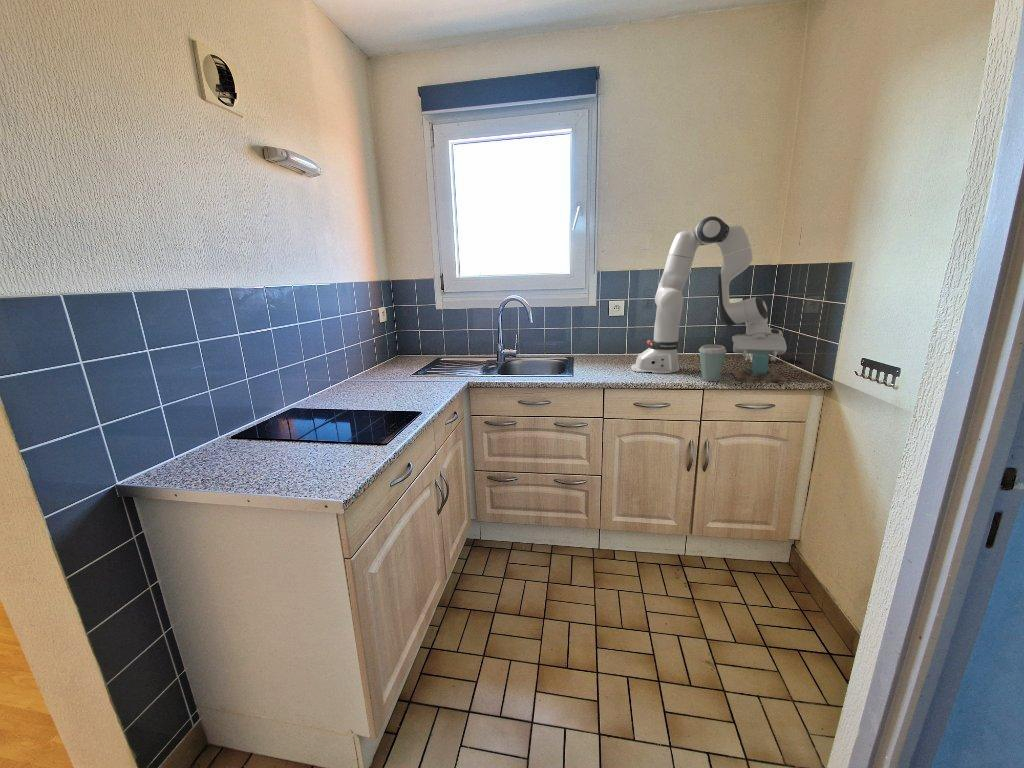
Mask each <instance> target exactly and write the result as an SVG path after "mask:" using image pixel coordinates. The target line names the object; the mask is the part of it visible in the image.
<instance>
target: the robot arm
mask: <svg viewBox="0 0 1024 768" xmlns="http://www.w3.org/2000/svg"><path fill="white" fill-rule="evenodd" d="M712 244H715V245H717V246H718V247H719V249H720V251H721V256H722V260H723V261H722V266H721V268H720V269H719V270H718V273H717V290H718V303H719V304H718V305H719V310H718V311H719V312H718V318H719V320H720V323H721V324H722V325H725V327H733V326H736V325H739V324H742V323H745V326H746V328H745V334H738V333H737V334H734V335H733V336H731V339H732V343H733V345H732V346H733V347H732V351H733V353H734V354H742V357H744V359H745V358H746V360H745V361H746V362H748V361H750V356H748V355H747V354H746V353H749V354H768V355H772V356H770V357H769V360H770V362H771V363H775V362H776V357H777V355H784V354H785V353H786V351H787V348H788V347H787V343H786V340H785V337H784V336H783V331H782V330H780V329H777V328H772V327H769V325H768V319H769V318H768V316H769V309H768V304H767V302H766V301H765V300H764V299H763V298H761V297H758V296H754V297H751V298H747V299H744V300H740V301H736V302H730V288H729V287H730V283H731V282H732V280H734V279H735V278H736V277H737V276H738V275H740V274H741V273H743V272H744V271H746V270H747V268H749V266H750V265H751V264H752V261H753V251H752V247H751V243H750V241H749V238H748V236H747V233H746V231H745V229H744V227H742V225H738V224H737V225H730V226H729V225H728V224H727V223H726V222H725V221H724V220H722V218H720V217H718V216H715V215H713V216H712V215H711V216H707V217H704V218H703V219H702V220H700V221H699V222H698V223H697V224H696V226H695V227H694V229H692V230H682V231H679V232H678V233H676V235H675V237H674V238H673V241H672V243H671V245H670V248H669V251H668V254H667V258H666V262H665V266H664V269H663V272H662V275H661V277H660V281H659V284H658V287H657V290H656V294H655V296H654V303H655V305H656V312H655V320H654V327H653V329H654V330H653V339H652V340H650V339H648V340H647V341H646V344H647V345H648V348H647V349H645V350H644V351H642V352H641V353H639V354H638V355H637V357H636V360H635V363H634V364H631V365H630V369H631V370H632V371H633V372H635V371H636V373H644V372H652V373H651V374H666V373H670V374H672V373H676V372H678V371H680V370H681V369H680V367H679V366H680V365H679V356H678V354H679V348H680V341H679V332H680V323H681V318H682V312H683V306H684V296H683V290H684V287H685V284H686V282H687V280H688V279H689V275H690V273H691V268H692V265H693V262H694V259H695V255H696V252H697V250H698V248H699V246H706V245H712Z"/></svg>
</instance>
